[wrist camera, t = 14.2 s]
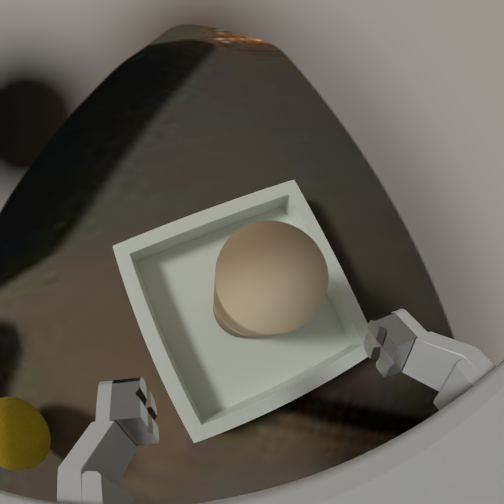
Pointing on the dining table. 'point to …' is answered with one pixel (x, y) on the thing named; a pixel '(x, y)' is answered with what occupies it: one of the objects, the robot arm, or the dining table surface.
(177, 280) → the tray
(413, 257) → the dining table surface
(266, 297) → the dowel
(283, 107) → the dining table surface
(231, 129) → the dining table surface
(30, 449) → the lemon
